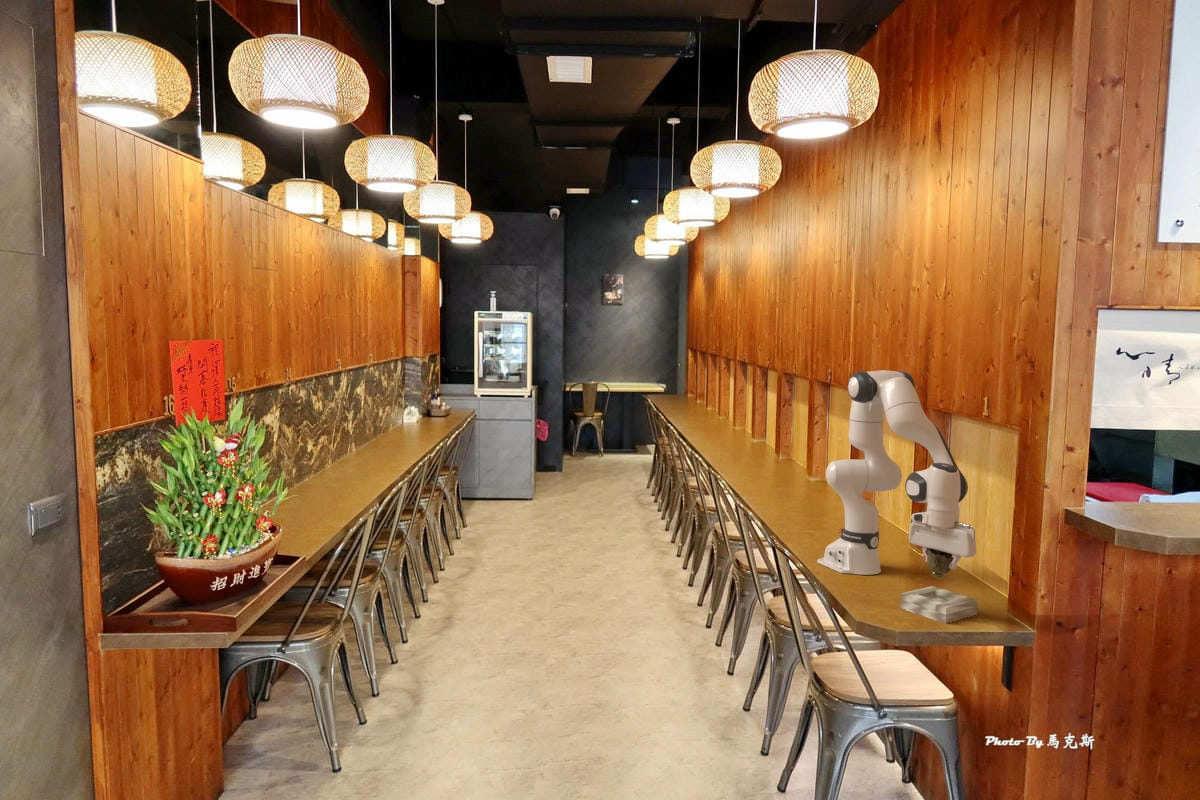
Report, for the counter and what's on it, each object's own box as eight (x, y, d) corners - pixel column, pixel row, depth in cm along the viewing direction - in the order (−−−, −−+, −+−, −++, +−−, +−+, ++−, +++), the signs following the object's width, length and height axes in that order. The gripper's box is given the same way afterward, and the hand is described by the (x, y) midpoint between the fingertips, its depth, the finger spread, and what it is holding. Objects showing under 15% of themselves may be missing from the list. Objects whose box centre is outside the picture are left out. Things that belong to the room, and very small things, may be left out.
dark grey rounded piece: (944, 572, 236) (948, 547, 235) (955, 583, 229) (960, 557, 227) (919, 570, 236) (924, 545, 234) (930, 580, 229) (935, 555, 227)
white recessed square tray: (900, 609, 235) (901, 593, 235) (931, 601, 243) (932, 586, 242) (945, 625, 222) (946, 607, 222) (976, 616, 230) (977, 599, 230)
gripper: (982, 524, 223) (980, 572, 224) (920, 512, 241) (918, 556, 242) (968, 526, 220) (966, 575, 221) (906, 513, 238) (904, 559, 238)
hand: (940, 565), depth 231 cm, fingers closed on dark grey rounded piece, 6 cm apart
